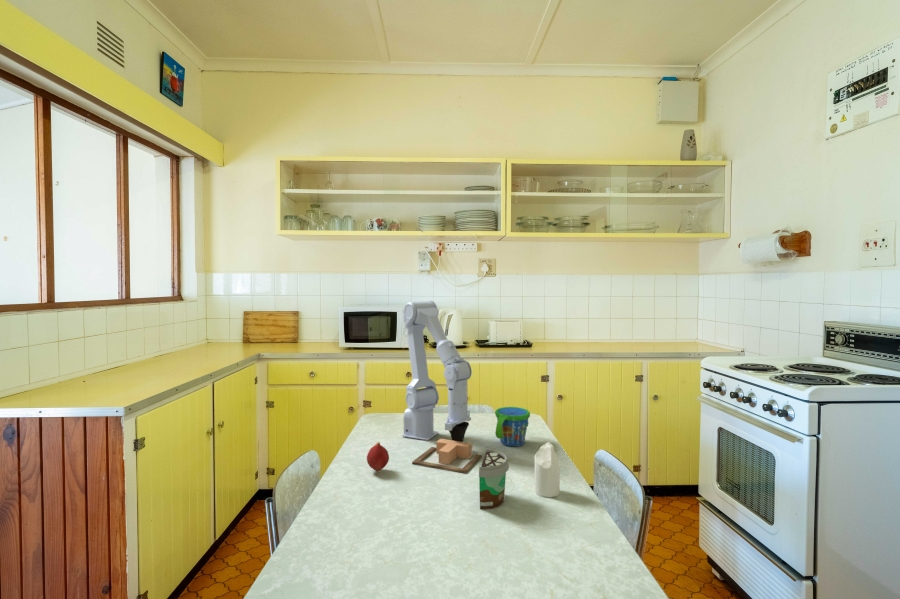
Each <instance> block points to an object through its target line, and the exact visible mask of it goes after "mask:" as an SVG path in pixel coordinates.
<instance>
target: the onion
mask: <svg viewBox="0 0 900 599" xmlns="http://www.w3.org/2000/svg"><path fill="white" fill-rule="evenodd" d="M389 459H390V456H389V452H388V450H387V448H386V447H385V446H383V445H381V442H379V441H378V442H376V443H375V445H373V446H372V447H371V448H370V449H369V450H368V452H367V455H366V461H367V464H368V466H369V467H370V468H371V469H373V470H374V471H375V472H377V473H379V472H382V470H383V469H384V468H385V467H386V466H387V464H388V463H389V462H390V461H389Z"/></svg>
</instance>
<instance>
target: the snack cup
mask: <svg viewBox="0 0 900 599" xmlns="http://www.w3.org/2000/svg"><path fill="white" fill-rule="evenodd" d="M494 414H495V417H496V420H497V422H496V426H495V431H494V433H495V436H496V437H497V438H498V439H499V440H500V443H502V444H503V445H505V446H506V447H507V446H508V447H519V446H523V444H524V443H525V441H526V436H527V430H528V429H527V428H528V426H529V424H530V423H529V418H530V417H531V413H530V410H528V409H526V408H523V407H518V406H504V407H499V408H496V410H495V412H494Z"/></svg>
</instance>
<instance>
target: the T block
mask: <svg viewBox="0 0 900 599" xmlns="http://www.w3.org/2000/svg"><path fill="white" fill-rule="evenodd" d="M435 444H436V455H438V464H441V465H447V466H450V464H451V463H452V462H453V461H454V460H455V459H456V458H461V459H467V460H468V459H470V458H471V457H472V456H473V443H471V442H465V441H463V442H460V441H453V440H452V439H445V438H440V439H438V440H437V441H436V443H435Z"/></svg>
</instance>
